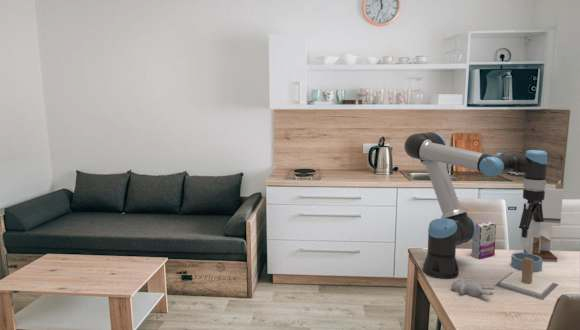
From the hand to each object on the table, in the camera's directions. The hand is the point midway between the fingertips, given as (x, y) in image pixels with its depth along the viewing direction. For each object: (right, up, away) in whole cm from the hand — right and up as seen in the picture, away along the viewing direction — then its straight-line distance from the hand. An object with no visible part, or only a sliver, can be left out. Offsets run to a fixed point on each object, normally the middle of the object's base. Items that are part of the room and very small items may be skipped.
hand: (530, 241), depth 173 cm
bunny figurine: (-25, -21, -3) cm, 33 cm away
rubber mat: (0, -19, +3) cm, 20 cm away
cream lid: (0, -19, +3) cm, 19 cm away
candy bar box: (-2, -14, +38) cm, 41 cm away
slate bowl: (+10, -16, +22) cm, 29 cm away
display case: (+24, -14, +36) cm, 46 cm away
